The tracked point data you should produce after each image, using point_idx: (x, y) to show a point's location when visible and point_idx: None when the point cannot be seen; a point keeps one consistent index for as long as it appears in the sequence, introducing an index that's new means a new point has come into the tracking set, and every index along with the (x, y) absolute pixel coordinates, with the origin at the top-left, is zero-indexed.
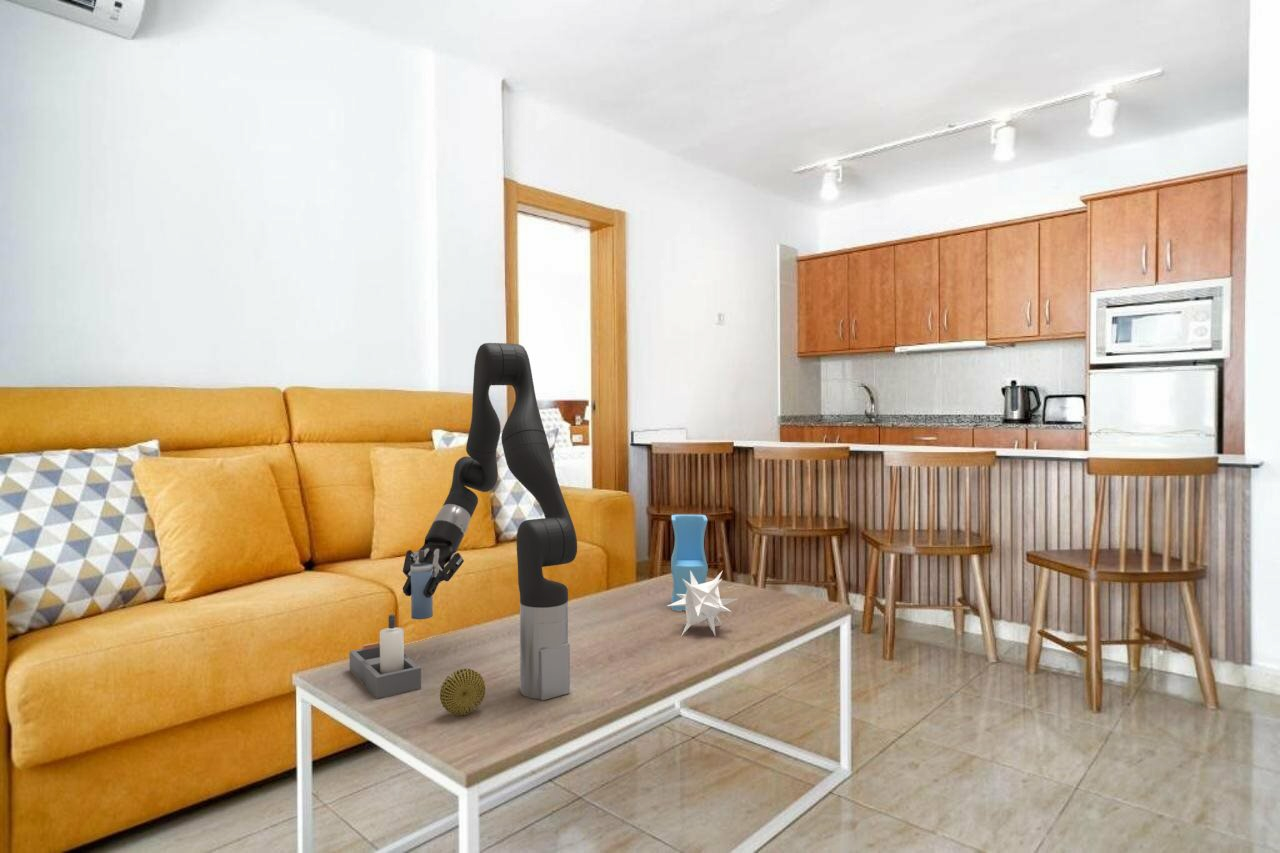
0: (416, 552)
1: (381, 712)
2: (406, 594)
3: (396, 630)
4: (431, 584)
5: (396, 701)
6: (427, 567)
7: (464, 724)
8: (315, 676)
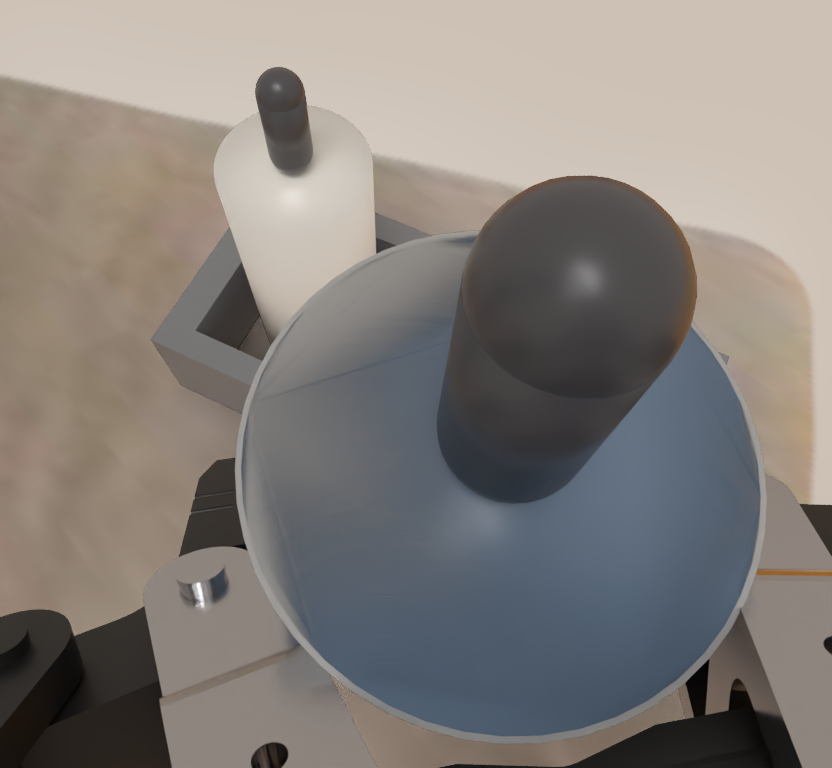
0: None
1: (171, 160)
2: None
3: (267, 180)
4: (228, 516)
5: (189, 246)
6: (252, 401)
7: None
8: (740, 281)
